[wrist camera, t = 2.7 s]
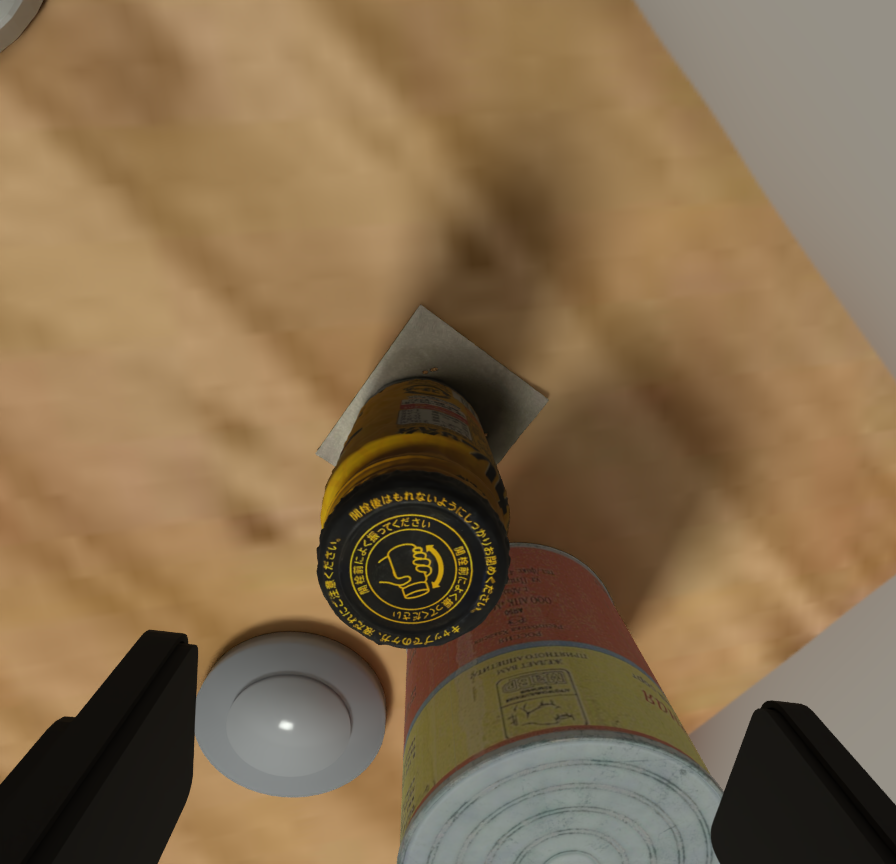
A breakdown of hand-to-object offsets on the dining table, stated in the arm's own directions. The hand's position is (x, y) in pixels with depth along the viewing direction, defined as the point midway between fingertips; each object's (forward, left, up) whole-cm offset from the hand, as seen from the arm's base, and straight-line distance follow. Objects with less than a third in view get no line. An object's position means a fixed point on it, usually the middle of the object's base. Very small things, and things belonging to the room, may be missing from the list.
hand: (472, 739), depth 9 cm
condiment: (0, 0, -18) cm, 18 cm away
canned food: (+11, +6, -18) cm, 21 cm away
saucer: (+17, -5, -18) cm, 25 cm away
